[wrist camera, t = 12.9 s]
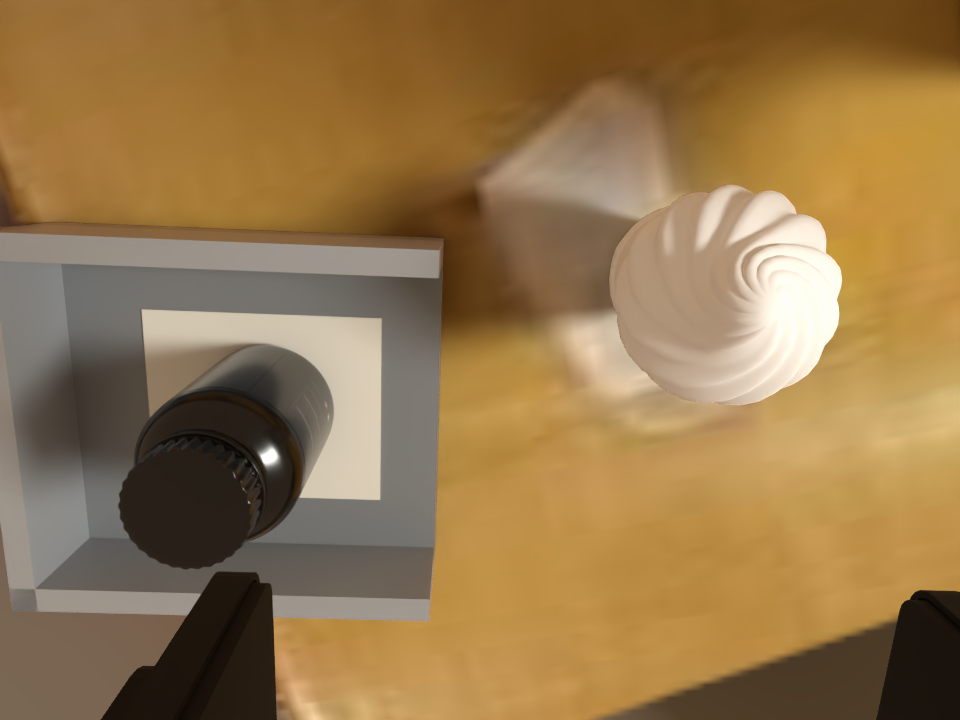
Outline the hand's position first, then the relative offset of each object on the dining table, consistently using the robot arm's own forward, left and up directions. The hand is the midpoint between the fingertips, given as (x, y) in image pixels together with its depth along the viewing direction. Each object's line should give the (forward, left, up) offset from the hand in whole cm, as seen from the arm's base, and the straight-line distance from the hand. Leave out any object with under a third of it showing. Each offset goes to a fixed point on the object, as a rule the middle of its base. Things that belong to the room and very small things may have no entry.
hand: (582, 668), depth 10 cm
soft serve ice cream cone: (-8, -3, -28) cm, 30 cm away
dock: (+13, +5, -28) cm, 32 cm away
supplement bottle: (+12, +5, -26) cm, 29 cm away
